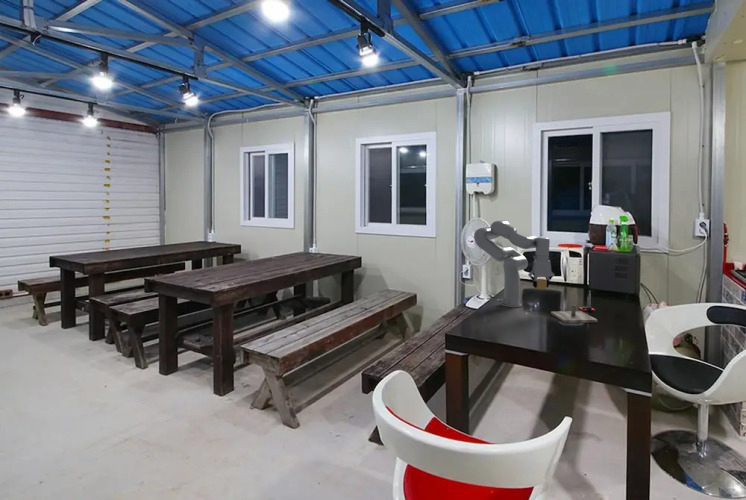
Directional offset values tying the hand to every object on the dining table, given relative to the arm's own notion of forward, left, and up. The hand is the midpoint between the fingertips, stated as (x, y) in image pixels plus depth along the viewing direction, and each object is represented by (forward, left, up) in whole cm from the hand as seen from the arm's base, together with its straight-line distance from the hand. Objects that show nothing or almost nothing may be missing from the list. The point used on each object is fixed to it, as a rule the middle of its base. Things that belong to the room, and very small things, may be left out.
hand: (540, 286), depth 256 cm
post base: (+13, -15, -15) cm, 25 cm away
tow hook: (+30, +2, -16) cm, 34 cm away
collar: (0, 0, -1) cm, 1 cm away
